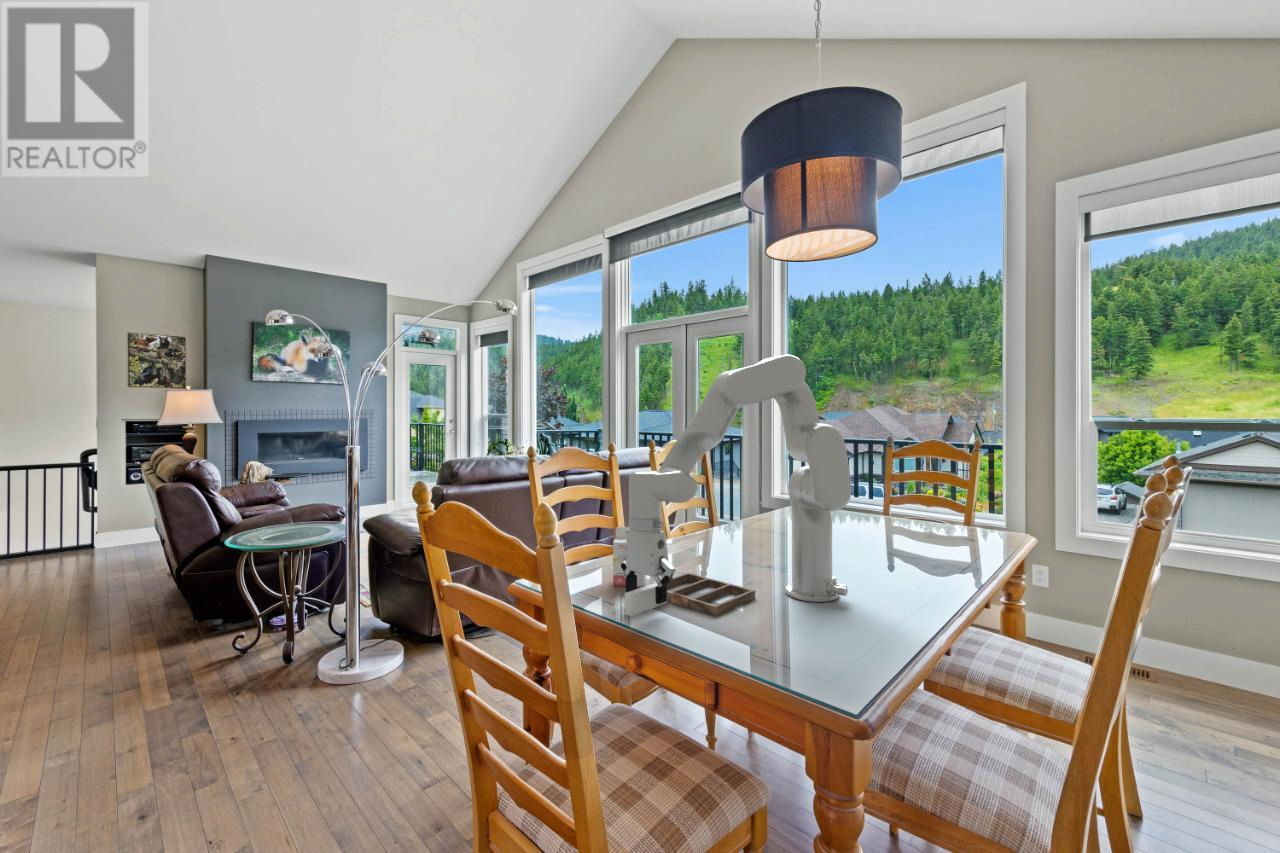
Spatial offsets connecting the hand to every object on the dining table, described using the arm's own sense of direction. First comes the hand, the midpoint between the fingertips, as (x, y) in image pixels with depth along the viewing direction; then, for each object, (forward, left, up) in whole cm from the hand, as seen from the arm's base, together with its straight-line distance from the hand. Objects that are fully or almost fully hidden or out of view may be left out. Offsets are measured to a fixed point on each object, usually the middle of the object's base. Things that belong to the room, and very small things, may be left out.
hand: (645, 597), depth 128 cm
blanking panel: (0, 0, -3) cm, 3 cm away
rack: (-4, -15, -3) cm, 16 cm away
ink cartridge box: (+16, -10, -3) cm, 19 cm away
